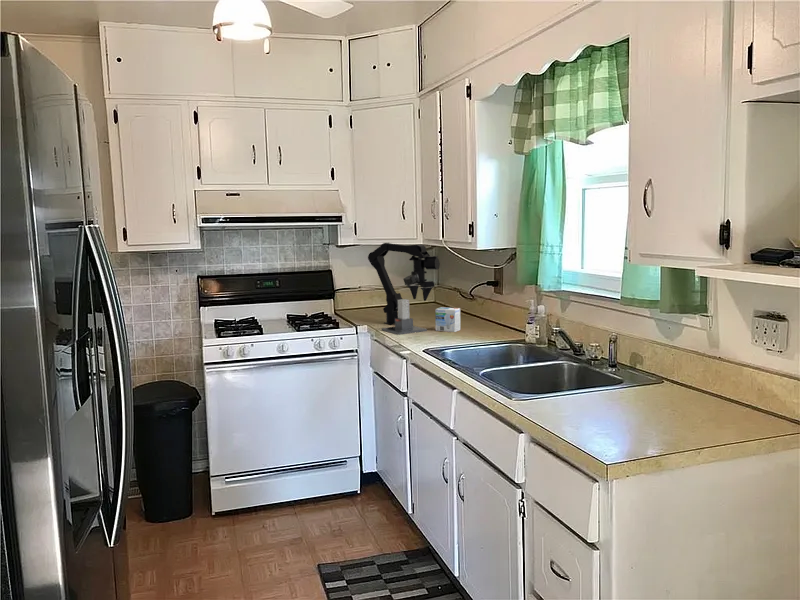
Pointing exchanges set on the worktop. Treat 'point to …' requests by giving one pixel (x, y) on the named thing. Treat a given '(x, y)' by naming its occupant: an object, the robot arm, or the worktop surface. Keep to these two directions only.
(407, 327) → the stand
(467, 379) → the worktop surface
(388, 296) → the robot arm
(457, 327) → the light bulb box
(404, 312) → the column
